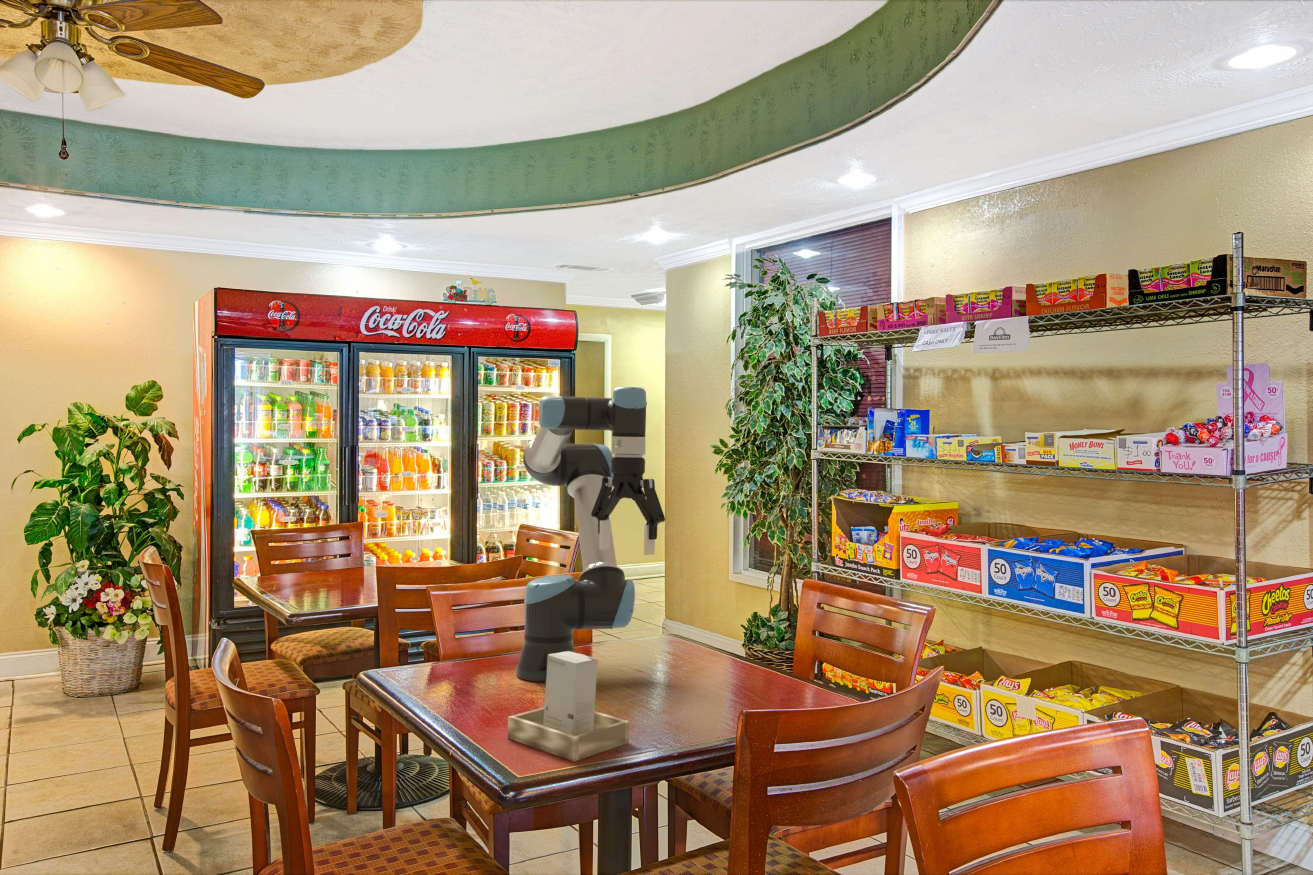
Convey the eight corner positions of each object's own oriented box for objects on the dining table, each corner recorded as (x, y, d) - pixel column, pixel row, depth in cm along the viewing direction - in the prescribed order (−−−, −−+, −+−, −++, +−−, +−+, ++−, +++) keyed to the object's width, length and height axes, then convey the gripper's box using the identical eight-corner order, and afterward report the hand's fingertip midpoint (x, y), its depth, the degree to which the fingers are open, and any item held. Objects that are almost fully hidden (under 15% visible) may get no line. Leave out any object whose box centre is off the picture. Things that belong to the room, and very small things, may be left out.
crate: (507, 737, 167) (508, 716, 167) (562, 721, 178) (563, 701, 178) (574, 761, 155) (574, 738, 155) (628, 742, 166) (629, 721, 166)
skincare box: (542, 733, 167) (543, 654, 167) (565, 726, 171) (567, 649, 171) (573, 744, 161) (575, 661, 161) (597, 736, 166) (598, 656, 166)
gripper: (577, 455, 204) (575, 547, 204) (659, 457, 188) (657, 558, 188) (600, 455, 210) (598, 545, 210) (682, 457, 194) (680, 555, 193)
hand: (626, 551), depth 199 cm, fingers open, 13 cm apart
